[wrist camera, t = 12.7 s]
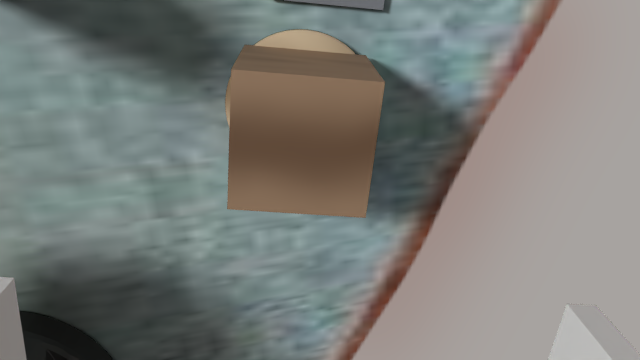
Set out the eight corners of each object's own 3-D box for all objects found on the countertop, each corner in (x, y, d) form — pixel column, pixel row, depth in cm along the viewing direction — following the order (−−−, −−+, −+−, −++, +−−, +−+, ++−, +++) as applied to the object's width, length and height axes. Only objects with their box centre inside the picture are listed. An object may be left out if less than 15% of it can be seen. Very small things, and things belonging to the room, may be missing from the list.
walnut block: (351, 166, 33) (365, 217, 27) (240, 158, 32) (227, 208, 26) (365, 55, 30) (385, 82, 24) (244, 44, 30) (231, 69, 23)
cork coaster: (363, 177, 34) (364, 181, 33) (224, 167, 33) (223, 171, 33) (383, 36, 30) (385, 38, 30) (228, 21, 30) (227, 23, 29)
